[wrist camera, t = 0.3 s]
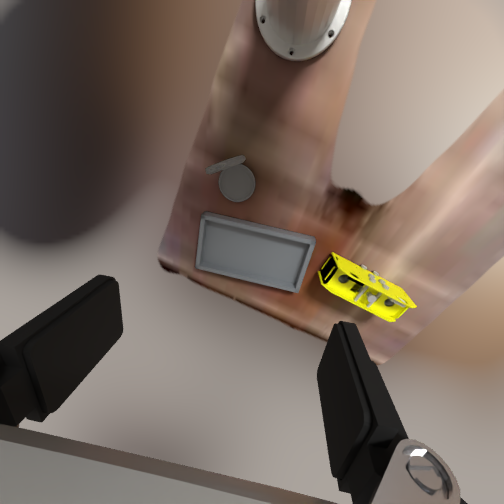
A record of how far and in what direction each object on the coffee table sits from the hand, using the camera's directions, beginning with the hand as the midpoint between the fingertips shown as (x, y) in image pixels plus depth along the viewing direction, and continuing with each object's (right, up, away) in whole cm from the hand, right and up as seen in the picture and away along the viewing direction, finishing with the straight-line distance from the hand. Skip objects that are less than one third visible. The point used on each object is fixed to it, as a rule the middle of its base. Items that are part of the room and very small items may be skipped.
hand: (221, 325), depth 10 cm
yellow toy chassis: (+23, -2, +38) cm, 44 cm away
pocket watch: (-2, +17, +33) cm, 37 cm away
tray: (+2, +3, +38) cm, 38 cm away
